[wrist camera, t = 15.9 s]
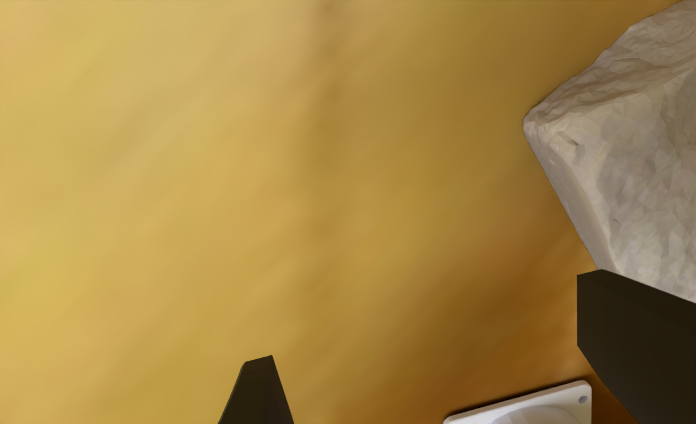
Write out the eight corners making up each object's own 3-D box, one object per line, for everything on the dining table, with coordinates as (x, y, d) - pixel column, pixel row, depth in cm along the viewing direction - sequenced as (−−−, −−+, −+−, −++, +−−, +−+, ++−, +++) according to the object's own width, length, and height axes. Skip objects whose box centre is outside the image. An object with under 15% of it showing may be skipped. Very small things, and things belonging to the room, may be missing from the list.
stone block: (666, -29, 21) (491, 126, 20) (797, -50, 17) (581, 146, 16) (734, 178, 26) (597, 307, 25) (848, 203, 22) (686, 359, 21)
